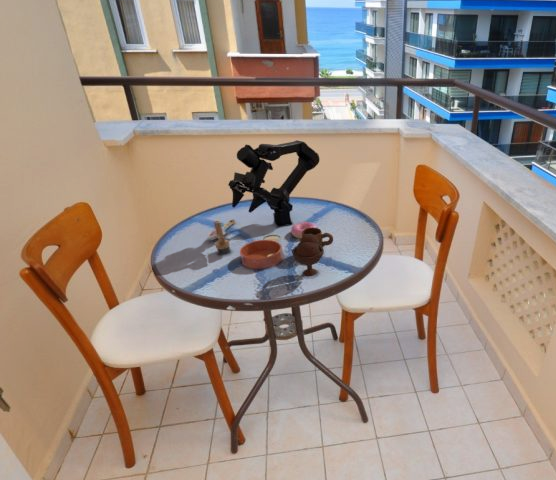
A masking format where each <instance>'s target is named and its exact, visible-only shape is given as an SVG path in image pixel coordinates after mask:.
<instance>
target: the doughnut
mask: <svg viewBox="0 0 556 480" xmlns="http://www.w3.org/2000/svg"><path fill="white" fill-rule="evenodd" d="M307 228H318V227H317V225H316V224H315V223H313V222H310V221H301V222H297V223H295V224H293V225H292V226H291V230H290V231H291V234H292V236H293V237H295V238H297V239H301V238H302V231H303V230H304V229H307Z"/></svg>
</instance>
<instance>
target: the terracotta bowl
mask: <svg viewBox="0 0 556 480" xmlns="http://www.w3.org/2000/svg"><path fill="white" fill-rule="evenodd" d="M269 254H274V255H272V256H269V257H267V256H268V255H269ZM239 255H240V261H241V264H242V265H243V266H244V267H245V268H249V269H253V270H262V269H267V268H272V267H275V266H277V265H278V264H280V263H281V262H282V261H283V260H284V251H283V245H282V244H281V243H280V242H279V241H276V240H272V239H259V240H254V241H250V242H248V243H246V244H244V245H243V246H242V247H241V248H240V249H239Z"/></svg>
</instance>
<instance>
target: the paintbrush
mask: <svg viewBox="0 0 556 480" xmlns="http://www.w3.org/2000/svg"><path fill="white" fill-rule="evenodd" d="M235 223H236V221H235V219H230V220H229V221H227V223H225V224H224V225H223V226H221V227H222V232H223V236H224V235H227V232H226V230H228V229H229V228H230V227H231V226H232V225H234V224H235ZM216 239H218V237H217V233H216V229H215V228H214V229H213V231H212V232H211V233H210V234H209V235H208V237H207V238H206V241H207V240H208V241H213V240H216Z"/></svg>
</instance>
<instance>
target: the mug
mask: <svg viewBox="0 0 556 480" xmlns="http://www.w3.org/2000/svg"><path fill="white" fill-rule="evenodd" d="M305 234H313V235H315V236H316V237H317V238H318V240H319V243H318V245H321V246H322V248H323V249H324V247H326V246H330V245H332V244H333V242H334V236H333V235H332V234H331V233H329V232H324V233H322V230H321V228H318V227H317V228H307V229H304V230H303V231H302V237H303V236H304V235H305ZM325 238H328V240H323V239H325Z"/></svg>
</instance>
